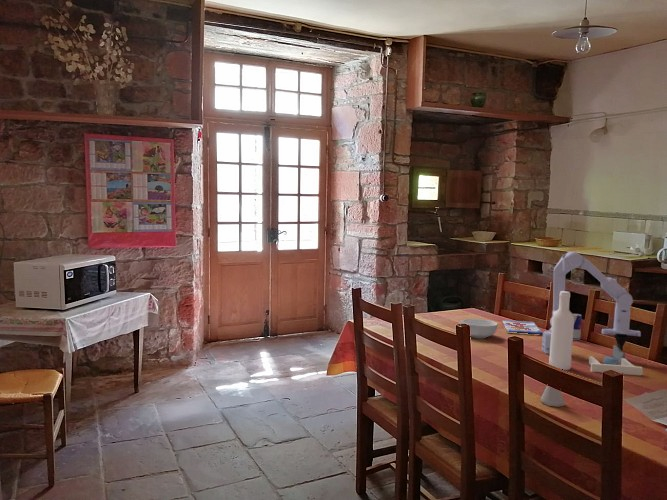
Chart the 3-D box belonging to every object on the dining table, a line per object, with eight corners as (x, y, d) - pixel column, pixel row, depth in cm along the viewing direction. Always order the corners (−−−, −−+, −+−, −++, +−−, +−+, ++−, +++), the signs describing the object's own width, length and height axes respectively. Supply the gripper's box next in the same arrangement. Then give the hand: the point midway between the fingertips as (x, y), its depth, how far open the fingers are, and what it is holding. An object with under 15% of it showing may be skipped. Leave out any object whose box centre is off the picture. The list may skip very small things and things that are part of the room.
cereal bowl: (500, 335, 256) (501, 321, 255) (491, 343, 242) (491, 327, 241) (466, 330, 265) (467, 316, 264) (455, 337, 251) (455, 322, 250)
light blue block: (605, 369, 207) (606, 359, 207) (601, 365, 212) (602, 356, 212) (619, 370, 206) (620, 360, 206) (614, 366, 211) (615, 357, 211)
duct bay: (591, 371, 204) (592, 363, 204) (582, 362, 215) (583, 355, 215) (642, 375, 201) (642, 367, 201) (630, 366, 212) (630, 358, 212)
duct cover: (611, 355, 226) (612, 344, 226) (615, 355, 226) (616, 345, 226) (621, 364, 213) (621, 353, 213) (624, 364, 213) (625, 353, 213)
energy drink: (581, 341, 249) (583, 316, 248) (569, 340, 250) (571, 315, 249) (578, 338, 255) (580, 313, 254) (566, 337, 256) (568, 313, 255)
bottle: (573, 367, 208) (579, 292, 206) (566, 371, 203) (571, 294, 200) (553, 362, 214) (558, 289, 211) (545, 366, 208) (550, 291, 206)
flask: (536, 399, 173) (538, 369, 172) (557, 398, 174) (559, 369, 173) (547, 407, 166) (549, 376, 165) (569, 407, 167) (571, 376, 166)
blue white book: (535, 326, 280) (535, 321, 280) (543, 337, 257) (544, 331, 257) (501, 323, 283) (501, 318, 283) (506, 334, 260) (506, 329, 260)
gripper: (606, 321, 218) (604, 353, 219) (644, 323, 216) (642, 355, 217) (600, 317, 225) (598, 348, 226) (637, 319, 222) (635, 350, 224)
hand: (619, 351), depth 222 cm, fingers closed, pressing on duct cover
